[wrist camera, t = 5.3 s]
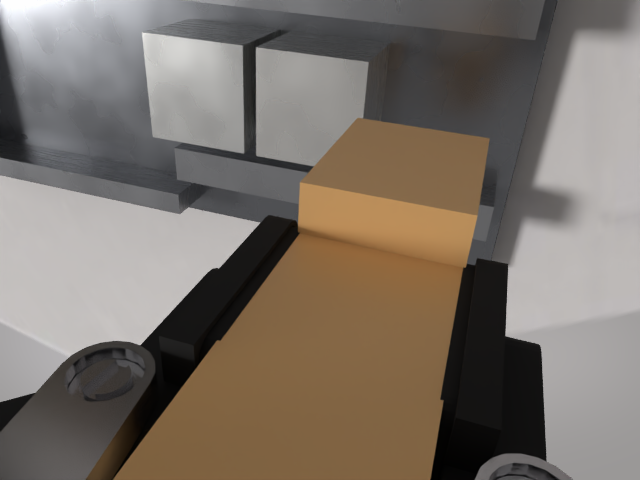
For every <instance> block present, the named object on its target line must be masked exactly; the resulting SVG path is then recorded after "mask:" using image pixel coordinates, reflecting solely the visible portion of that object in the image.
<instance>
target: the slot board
mask: <svg viewBox="0 0 640 480" xmlns="http://www.w3.org/2000/svg"><path fill="white" fill-rule="evenodd" d="M556 4H557V0H0V175H2V176H7V177H11V178H16V179H21V180H25V181H30V182H34V183H39V184H44V185H48V186H53V187H57V188H62V189H67V190H71V191H76V192H80V193H85V194H90V195H94V196H99V197H103V198H108V199H113V200H117V201H122V202H126V203H131V204H136V205H140V206H145V207H150V208H154V209H159V210H163V211H168V212H173V213H177V214H181V213H182V212H183V211H184V210H185V209H187V208H188V207H190V208H195V209H200V210H204V211H209V212H214V213H219V214H223V215H228V216H233V217H237V218H242V219H247V220H251V221H256V222H262V221H263V220H264V219H265V217H267V216H268V215H272V216H277V217H282V218H287V219H292V220H296V222H297V224H298V215H299V193H300V182H301V180H302V179H303V178H304V177H305V176H306V175H307V174H308V173H309V172H310V170H311V169H312V168H313V167H314V166H309V165H304V164H298V163H293V162H287V161H282V160H276V159H271V158H265V157H260V156H256V144H255V145H254V146H253V147H252V148H251V149H249V150H248V151H247V152H246V153H244V154H243V153H238V152H232V151H227V150H221V149H216V148H210V147H205V146H199V145H194V144H188V143H183V142H177V141H172V140H166V139H161V138H155V137H153V135H152V125H151V115H150V106H149V96H148V87H147V77H146V68H145V58H144V48H143V39H142V32H145V31H148V30H152V29H155V28H159V27H162V26H166V25H169V24H173V23H176V22H180V21H183V20H187V19H197V20H206V21H214V22H222V23H230V24H238V25H247V26H255V27H263V28H271V29H279V30H280V36H282V35H284V34H286V33H288V32H290V31H296V32H304V33H312V34H321V35H329V36H337V37H345V38H353V39H362V40H370V41H378V42H386V43H390V50H389V59H388V67H387V76H386V84H385V93H384V101H383V110H382V118H381V121H382V122H389V123H395V124H401V125H408V126H414V127H421V128H427V129H434V130H440V131H446V132H453V133H459V134H466V135H472V136H479V137H485V138H490V139H489V146H488V152H487V159H486V165H485V172H484V178H483V184H482V191H481V197H480V204H479V210H478V216H477V221H476V225H475V230H474V234H473V238H472V243H471V247H470V251H469V256H468V260H467V264H471V265H475V264H476V260H477V258H481V259H485V260H490V261H491V257H492V253H493V249H494V246H495V242H496V238H497V234H498V230H499V226H500V222H501V218H502V214H503V210H504V207H505V203H506V199H507V195H508V191H509V187H510V183H511V179H512V175H513V172H514V168H515V164H516V160H517V156H518V152H519V148H520V144H521V140H522V136H523V133H524V129H525V125H526V121H527V117H528V113H529V109H530V105H531V101H532V98H533V94H534V90H535V86H536V82H537V78H538V74H539V70H540V66H541V62H542V59H543V55H544V51H545V47H546V43H547V39H548V35H549V31H550V27H551V24H552V20H553V16H554V12H555V8H556Z"/></svg>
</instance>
